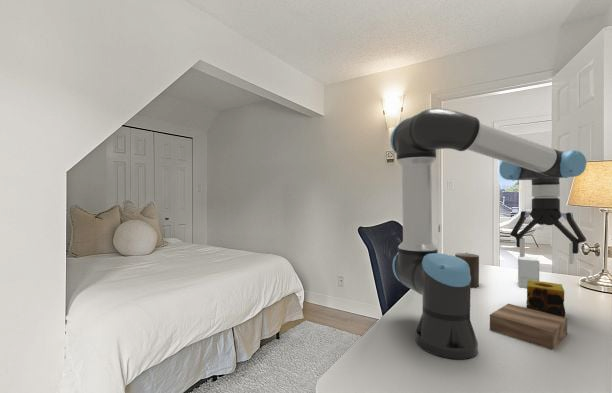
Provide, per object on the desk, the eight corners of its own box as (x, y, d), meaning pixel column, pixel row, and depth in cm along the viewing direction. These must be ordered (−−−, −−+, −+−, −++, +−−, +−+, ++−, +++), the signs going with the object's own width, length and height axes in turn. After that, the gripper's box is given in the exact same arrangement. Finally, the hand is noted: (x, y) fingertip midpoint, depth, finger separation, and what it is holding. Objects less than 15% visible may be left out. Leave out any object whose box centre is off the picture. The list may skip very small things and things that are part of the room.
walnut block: (552, 351, 79) (552, 332, 79) (489, 331, 91) (489, 314, 91) (567, 335, 88) (567, 318, 88) (508, 318, 100) (508, 303, 100)
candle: (565, 322, 96) (565, 291, 96) (526, 315, 102) (526, 285, 102) (563, 313, 104) (563, 284, 104) (527, 306, 110) (527, 279, 110)
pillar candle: (471, 289, 130) (471, 254, 130) (450, 283, 139) (450, 250, 139) (483, 286, 136) (483, 252, 136) (462, 280, 144) (462, 249, 144)
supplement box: (537, 285, 136) (537, 257, 136) (539, 290, 130) (539, 260, 130) (517, 283, 140) (517, 255, 140) (518, 287, 134) (518, 258, 134)
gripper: (597, 197, 96) (598, 264, 96) (507, 197, 115) (508, 253, 115) (593, 197, 91) (593, 268, 91) (500, 197, 111) (500, 255, 111)
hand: (545, 260), depth 103 cm, fingers open, 13 cm apart
